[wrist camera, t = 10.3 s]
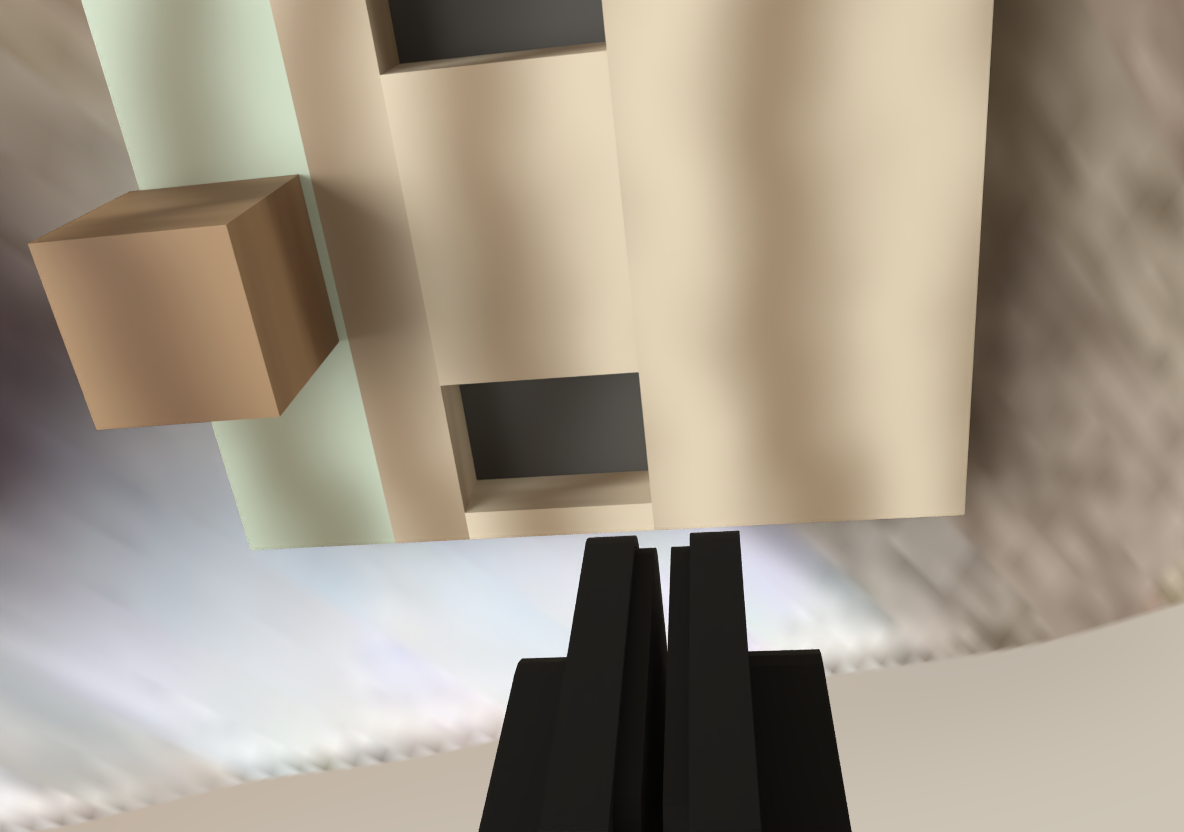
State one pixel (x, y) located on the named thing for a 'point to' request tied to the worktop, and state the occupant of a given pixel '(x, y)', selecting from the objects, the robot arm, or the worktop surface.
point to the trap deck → (593, 252)
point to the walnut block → (190, 302)
